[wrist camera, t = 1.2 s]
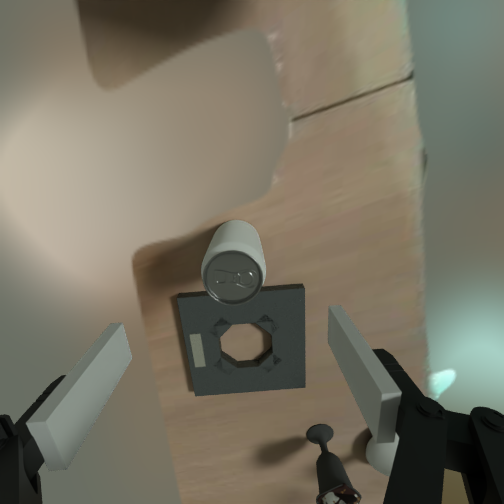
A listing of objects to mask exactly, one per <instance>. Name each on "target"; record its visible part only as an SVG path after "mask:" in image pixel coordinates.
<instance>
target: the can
mask: <svg viewBox="0 0 504 504" xmlns="http://www.w3.org/2000/svg"><path fill="white" fill-rule="evenodd" d="M201 275H202V280H203V284H204V287H205V289H206V291H207V293H208V294H209V295H210V296H211V297H212V298H213V299H214V300H216V301H217V302H219V303H222V304H225V305H231V306H236V305H242V304H245V303H247V302H249V301H251V300H252V299H253V298H255V297H256V296H257V294H258V293H259V291H260V290H261V287H262V285H263V283H264V280H265V277H266V265H265V260H264V255H263V251H262V246H261V242H260V238H259V235H258V233H257V231H256V229H255V228H254V227H253V226H252V225H250V224H249V223H247V222H245V221H241V220H231V221H228V222H225V223H224V224H222V225H221V226H220V227H219V228H218V229H217V230H216V232H215V234H214V236H213V238H212V240H211V242H210V245H209V247H208V249H207V252H206V254H205V256H204V259H203V262H202V267H201Z"/></svg>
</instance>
